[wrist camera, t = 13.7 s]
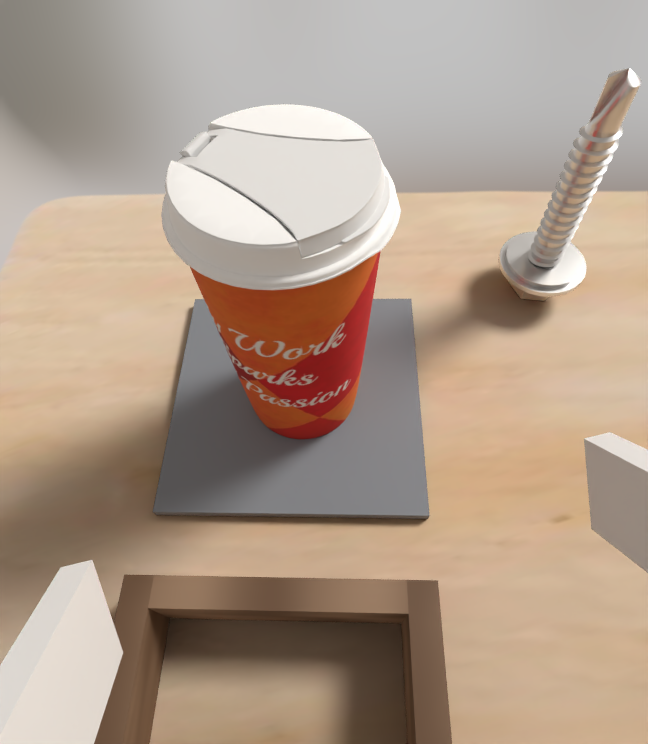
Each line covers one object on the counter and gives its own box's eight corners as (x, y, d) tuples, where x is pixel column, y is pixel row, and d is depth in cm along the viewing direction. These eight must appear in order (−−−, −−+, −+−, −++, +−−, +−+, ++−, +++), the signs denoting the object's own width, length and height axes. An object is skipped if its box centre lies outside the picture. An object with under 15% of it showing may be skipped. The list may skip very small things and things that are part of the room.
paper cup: (204, 422, 27) (95, 207, 15) (277, 316, 31) (235, 75, 19) (339, 486, 25) (335, 295, 13) (400, 365, 29) (441, 129, 17)
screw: (576, 320, 30) (491, 312, 31) (568, 260, 33) (490, 253, 33) (707, 105, 19) (572, 98, 20) (681, 39, 22) (562, 35, 22)
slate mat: (410, 304, 31) (411, 298, 31) (427, 518, 25) (429, 515, 24) (197, 304, 32) (195, 299, 32) (155, 514, 25) (152, 511, 25)
